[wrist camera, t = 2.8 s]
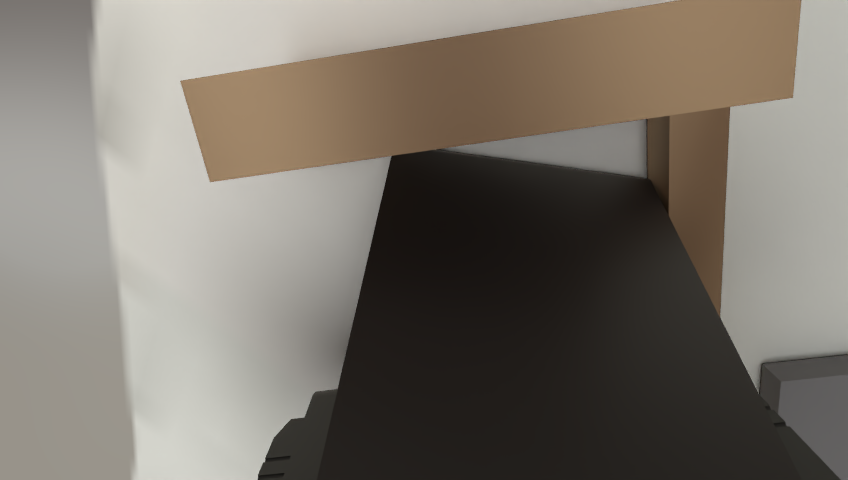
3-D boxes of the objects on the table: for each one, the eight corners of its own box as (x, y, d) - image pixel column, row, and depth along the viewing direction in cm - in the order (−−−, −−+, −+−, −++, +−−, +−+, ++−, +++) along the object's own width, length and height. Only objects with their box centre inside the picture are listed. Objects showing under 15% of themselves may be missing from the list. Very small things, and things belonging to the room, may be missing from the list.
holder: (704, 4, 11) (906, -36, 6) (689, 516, 16) (797, 713, 11) (285, 71, 12) (180, 80, 7) (392, 542, 16) (373, 738, 12)
